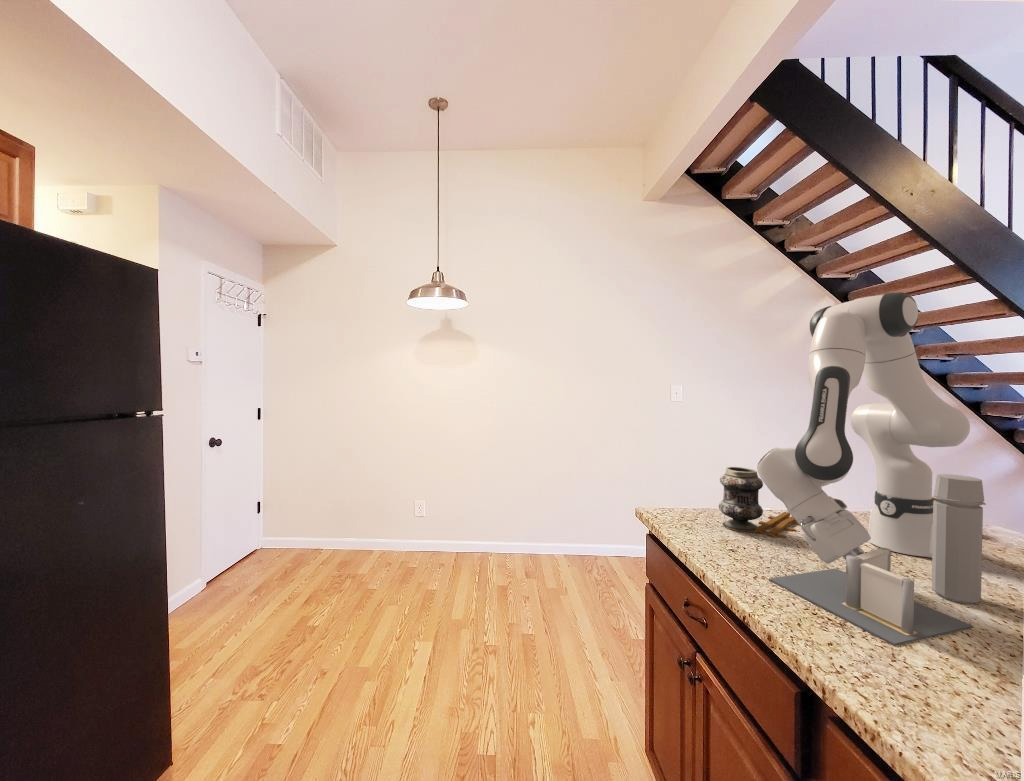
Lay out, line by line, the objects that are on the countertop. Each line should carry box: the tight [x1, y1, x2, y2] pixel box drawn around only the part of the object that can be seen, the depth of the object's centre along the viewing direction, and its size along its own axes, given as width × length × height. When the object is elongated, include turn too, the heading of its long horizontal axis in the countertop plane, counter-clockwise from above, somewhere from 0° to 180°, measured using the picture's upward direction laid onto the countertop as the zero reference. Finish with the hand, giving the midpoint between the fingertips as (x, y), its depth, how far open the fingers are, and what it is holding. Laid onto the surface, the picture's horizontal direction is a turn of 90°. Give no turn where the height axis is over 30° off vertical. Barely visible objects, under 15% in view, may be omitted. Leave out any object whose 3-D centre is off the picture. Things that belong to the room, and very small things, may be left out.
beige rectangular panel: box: [856, 547, 892, 572], centre depth 88 cm, size 2×11×9 cm, turn 116°
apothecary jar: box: [718, 466, 764, 533], centre depth 132 cm, size 12×12×18 cm
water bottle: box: [931, 473, 987, 605], centre depth 90 cm, size 9×8×25 cm
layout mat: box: [768, 567, 974, 647], centre depth 87 cm, size 20×25×1 cm
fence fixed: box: [845, 555, 915, 634], centre depth 80 cm, size 2×11×10 cm, turn 16°
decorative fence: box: [754, 511, 801, 539], centre depth 133 cm, size 25×2×10 cm
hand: (869, 571), depth 90 cm, fingers closed
